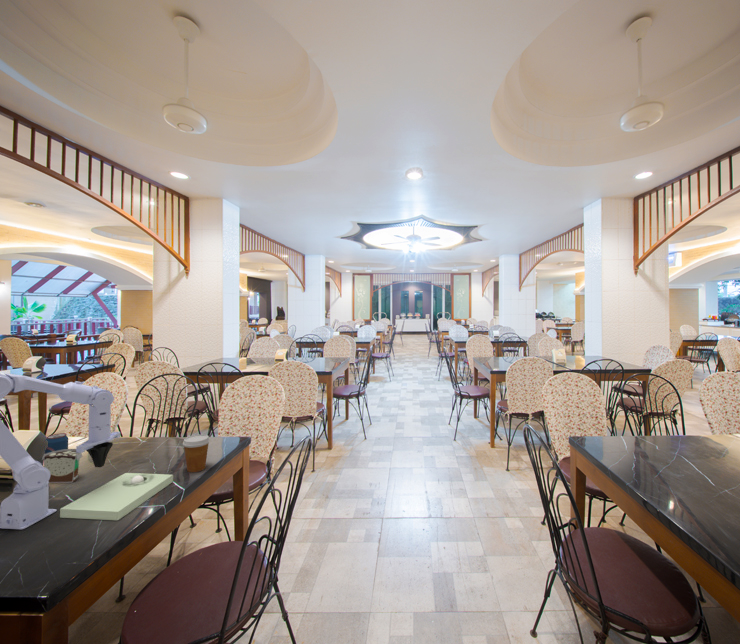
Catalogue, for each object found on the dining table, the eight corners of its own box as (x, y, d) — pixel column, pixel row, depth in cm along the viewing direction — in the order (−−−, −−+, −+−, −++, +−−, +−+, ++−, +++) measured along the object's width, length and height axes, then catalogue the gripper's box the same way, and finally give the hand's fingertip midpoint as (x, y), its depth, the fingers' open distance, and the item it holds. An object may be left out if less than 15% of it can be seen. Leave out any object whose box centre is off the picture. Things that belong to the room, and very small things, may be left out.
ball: (141, 490, 117) (130, 491, 114) (136, 483, 119) (125, 483, 116) (148, 479, 118) (137, 480, 114) (143, 472, 120) (132, 473, 116)
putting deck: (117, 520, 97) (117, 511, 97) (60, 517, 98) (60, 508, 99) (172, 481, 121) (172, 474, 121) (125, 479, 122) (125, 472, 122)
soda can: (39, 468, 132) (39, 437, 132) (59, 461, 138) (59, 432, 139) (52, 470, 130) (53, 439, 130) (72, 463, 137) (72, 433, 137)
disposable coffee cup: (179, 475, 126) (179, 443, 126) (186, 465, 135) (186, 435, 135) (207, 472, 129) (207, 441, 129) (211, 462, 138) (212, 433, 138)
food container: (90, 474, 126) (91, 448, 126) (77, 482, 120) (77, 454, 120) (57, 475, 126) (57, 448, 126) (41, 482, 120) (41, 454, 120)
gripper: (91, 432, 104) (90, 476, 104) (128, 419, 119) (128, 458, 118) (70, 432, 105) (69, 475, 105) (109, 418, 119) (109, 457, 119)
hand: (99, 466), depth 112 cm, fingers closed
